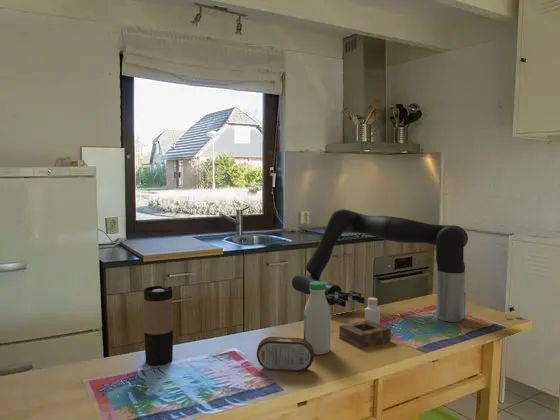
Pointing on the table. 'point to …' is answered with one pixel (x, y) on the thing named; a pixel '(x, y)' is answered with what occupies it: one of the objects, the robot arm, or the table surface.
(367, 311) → the salt shaker
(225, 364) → the table surface
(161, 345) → the travel mug
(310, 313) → the milk bottle
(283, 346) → the tin
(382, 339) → the walnut stand
